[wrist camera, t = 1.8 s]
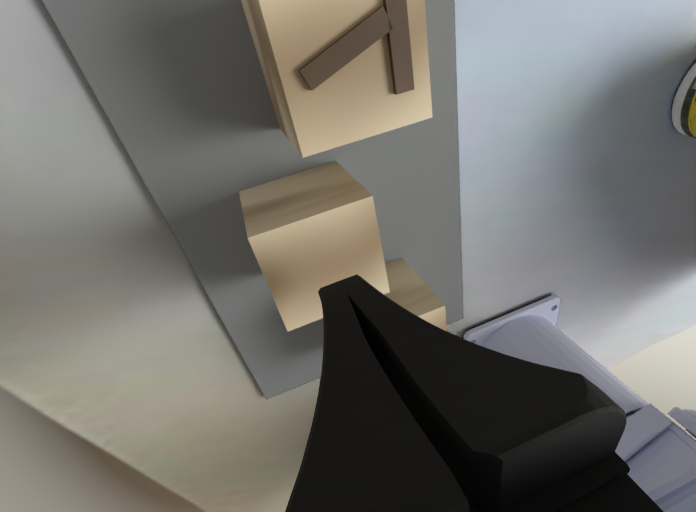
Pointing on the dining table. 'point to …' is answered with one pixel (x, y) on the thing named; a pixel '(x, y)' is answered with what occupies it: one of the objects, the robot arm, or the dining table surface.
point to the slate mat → (260, 157)
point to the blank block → (312, 237)
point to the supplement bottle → (686, 105)
